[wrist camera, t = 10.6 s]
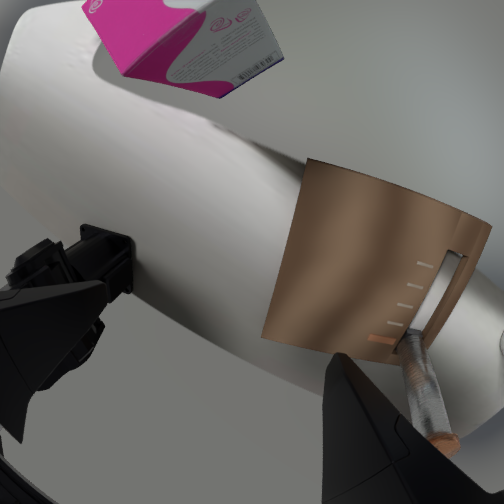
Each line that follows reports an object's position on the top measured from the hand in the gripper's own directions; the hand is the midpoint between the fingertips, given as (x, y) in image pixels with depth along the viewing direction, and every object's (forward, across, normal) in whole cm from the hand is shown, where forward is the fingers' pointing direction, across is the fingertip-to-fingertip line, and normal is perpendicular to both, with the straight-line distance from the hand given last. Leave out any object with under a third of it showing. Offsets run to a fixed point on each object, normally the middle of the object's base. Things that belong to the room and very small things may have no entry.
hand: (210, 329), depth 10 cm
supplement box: (+13, -5, +12) cm, 19 cm away
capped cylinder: (+13, +16, -8) cm, 22 cm away
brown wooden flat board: (+13, +10, -3) cm, 17 cm away
